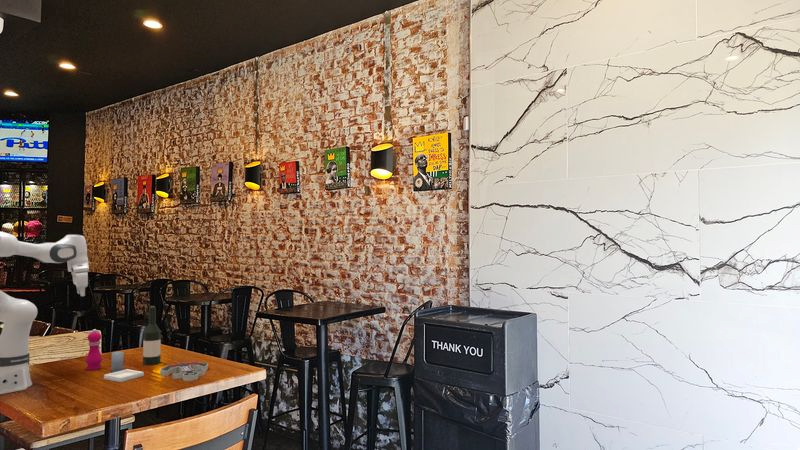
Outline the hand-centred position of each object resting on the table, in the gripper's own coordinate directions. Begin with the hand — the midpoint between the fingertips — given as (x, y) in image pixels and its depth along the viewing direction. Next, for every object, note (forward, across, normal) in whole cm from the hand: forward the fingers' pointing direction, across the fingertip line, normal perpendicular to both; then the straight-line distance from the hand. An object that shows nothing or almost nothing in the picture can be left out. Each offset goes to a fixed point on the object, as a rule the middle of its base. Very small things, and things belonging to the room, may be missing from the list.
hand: (81, 294), depth 258 cm
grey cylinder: (+39, +8, +11) cm, 42 cm away
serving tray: (+39, +24, +11) cm, 47 cm away
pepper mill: (+39, -4, +3) cm, 39 cm away
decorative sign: (+42, +35, +36) cm, 65 cm away
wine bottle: (+42, +2, +28) cm, 50 cm away
